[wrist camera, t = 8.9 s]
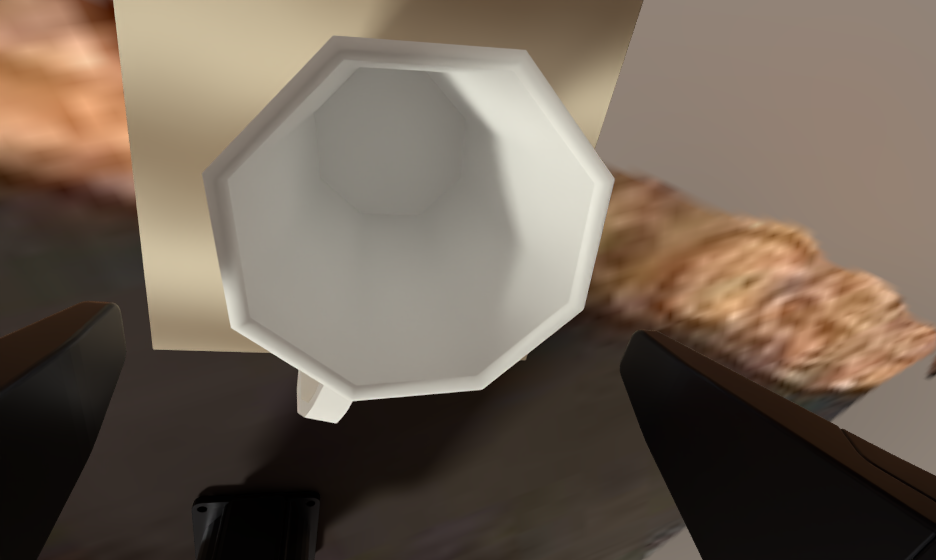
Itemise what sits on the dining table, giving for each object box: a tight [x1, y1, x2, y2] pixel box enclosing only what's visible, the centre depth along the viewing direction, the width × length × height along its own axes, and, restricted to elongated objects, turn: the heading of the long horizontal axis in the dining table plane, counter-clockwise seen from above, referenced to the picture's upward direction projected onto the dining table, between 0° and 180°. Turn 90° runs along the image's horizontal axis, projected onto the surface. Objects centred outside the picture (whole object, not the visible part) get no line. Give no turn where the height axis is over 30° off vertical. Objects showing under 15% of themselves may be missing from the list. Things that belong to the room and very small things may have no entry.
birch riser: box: [113, 0, 643, 360], centre depth 17 cm, size 14×14×4 cm
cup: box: [202, 35, 615, 423], centre depth 12 cm, size 7×10×8 cm
